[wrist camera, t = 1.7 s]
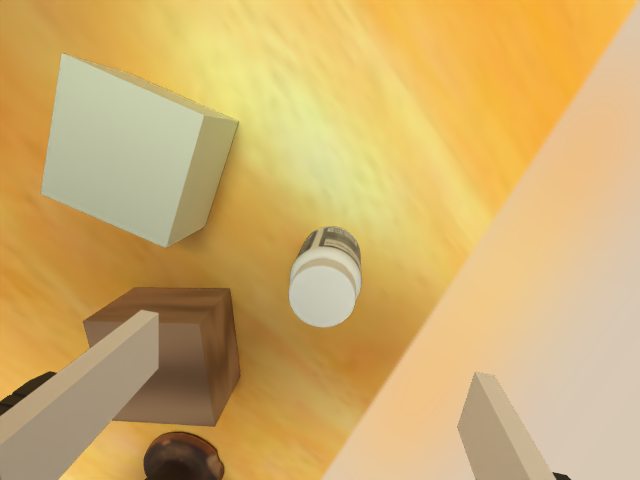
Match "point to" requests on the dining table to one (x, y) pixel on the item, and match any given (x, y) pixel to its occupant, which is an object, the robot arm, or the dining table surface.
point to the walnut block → (179, 353)
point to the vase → (181, 459)
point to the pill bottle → (326, 277)
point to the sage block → (133, 152)
